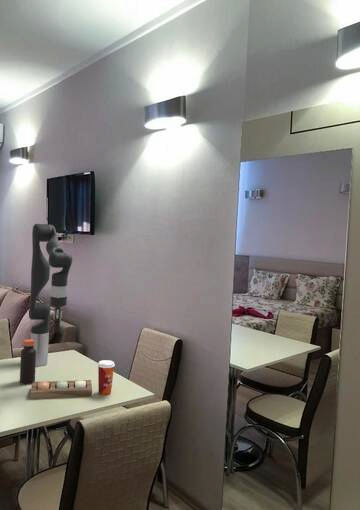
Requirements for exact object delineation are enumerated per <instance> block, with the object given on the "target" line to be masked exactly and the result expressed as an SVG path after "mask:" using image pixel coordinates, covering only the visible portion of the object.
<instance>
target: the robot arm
mask: <svg viewBox="0 0 360 510" xmlns="http://www.w3.org/2000/svg"><path fill="white" fill-rule="evenodd" d="M31 230H32V232H31V233H32V236H31V237H32V241H31V243H32V255H31V256H32V258H31V272H30V295H29V296H30V297H29V304H28V317H29V320H33V321H37V320H39V321H40V320H41V322H40V323H38V324H35V325H32V326H31V328H30V339H33V340H35V344H34V349H35V350H36V367H42V366H46V365H48V361H49V359H48V357H49V356H48V355H49V337H50V321H51V320H50V318H51V307H54V308H53V312H52V313H53V320H54V322H53V323H54V332H55V333H59V332H60V331H61V330H60V329H61V327H60V325H61V321H62V315H63V308H62V307H66V306H67V304H68V303H67V302H68V277H69V273H70V271H71V267H72V263H73V256H72V254H71V253H69V252H65V250H64V249H63V247H62V245H61V244H60V242H59V237H58V234H57V230H56V227H55V226H54V225H53V224H49V223H47V224H45V223H34V225H33V227H32V229H31ZM41 242H42V243H43V242H44V243H46V244H45V250H46V253H47V255H48V260H47V259H46V257H45V256H44V254H43V251H42V249H41V245H40V243H41ZM51 268H54V269H55V268H56V269H58V268H59V269H60V268H62V269H61V270H60V271H58V272H54V273H52V274H51V273H50V272H51V270H50V269H51ZM50 274H51V275H50ZM50 276H51V282H50V283H51V285H50V290H49V291H50V295H49V302H48V301H47V302H46V301H45V302H44V301H43V302H41V301H39V302H38V301H37V299H38V297H39V295H40V293H41V291H42V290H43V289H44V288H45V287H46V285H47V283H48V282H49V280H50Z"/></svg>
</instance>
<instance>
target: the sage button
mask: <svg viewBox="0 0 360 510" xmlns="http://www.w3.org/2000/svg"><path fill="white" fill-rule="evenodd" d="M58 381H59V382H57V387H56V389H58V388H68V382H66V381H67V380H58Z"/></svg>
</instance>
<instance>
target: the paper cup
mask: <svg viewBox="0 0 360 510" xmlns="http://www.w3.org/2000/svg"><path fill="white" fill-rule="evenodd" d="M115 366H116V364H115V361H113V360H110V359H108V360H107V359H106V360H105V359H103V360H100V361H98V364H97V369H98V380H97V381H98V385H97V386H98V394H99V395H102V396H107V395H111V393H112V386H113V377H114V369H115Z"/></svg>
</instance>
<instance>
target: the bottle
mask: <svg viewBox="0 0 360 510" xmlns="http://www.w3.org/2000/svg"><path fill="white" fill-rule="evenodd" d="M34 344H35V340H33V339H31V338H29V339H24V340H23V348H22V349H21V351H20V364H19V365H20V367H19V368H20V369H19V383H20V385H21V384H22V385H32V383H33V382H36V368H37V366H36V350H35V349H34Z"/></svg>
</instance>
